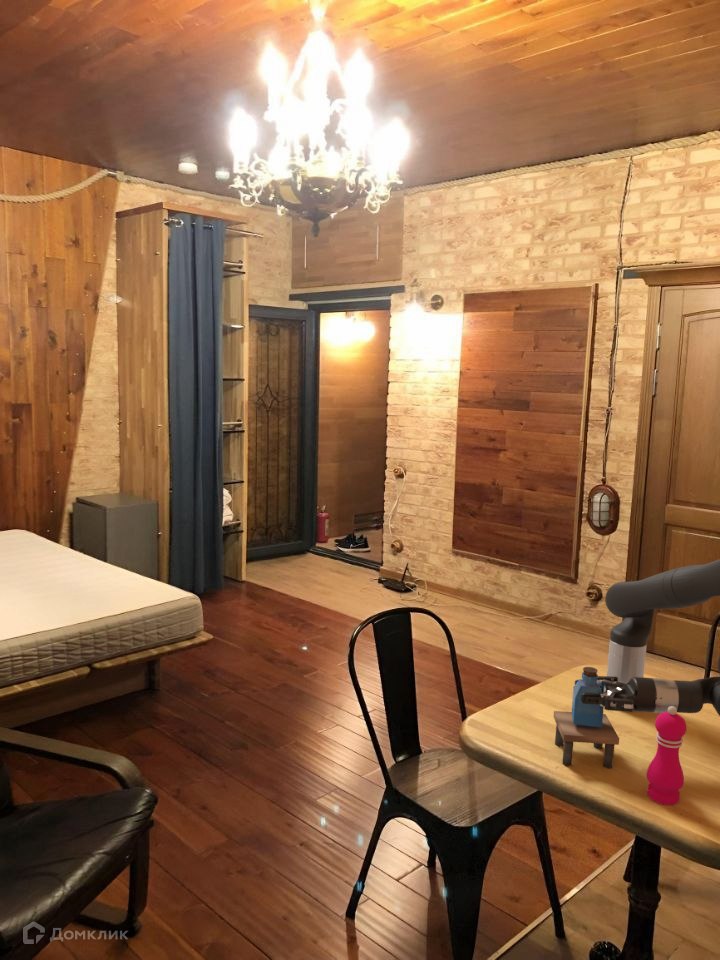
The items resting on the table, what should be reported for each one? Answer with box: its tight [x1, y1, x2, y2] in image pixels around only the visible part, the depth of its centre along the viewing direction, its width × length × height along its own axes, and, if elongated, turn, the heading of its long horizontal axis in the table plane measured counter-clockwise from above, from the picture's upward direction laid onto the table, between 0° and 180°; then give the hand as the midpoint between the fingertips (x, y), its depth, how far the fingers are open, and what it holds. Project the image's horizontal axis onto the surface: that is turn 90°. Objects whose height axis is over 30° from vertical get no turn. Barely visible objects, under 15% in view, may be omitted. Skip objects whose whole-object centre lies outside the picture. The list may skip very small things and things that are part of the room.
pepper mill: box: [646, 706, 687, 806], centre depth 162 cm, size 7×7×20 cm
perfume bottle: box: [571, 666, 605, 727], centre depth 177 cm, size 6×6×12 cm
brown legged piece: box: [553, 710, 620, 770], centre depth 179 cm, size 12×12×8 cm
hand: (578, 691), depth 177 cm, fingers closed on perfume bottle, 7 cm apart
